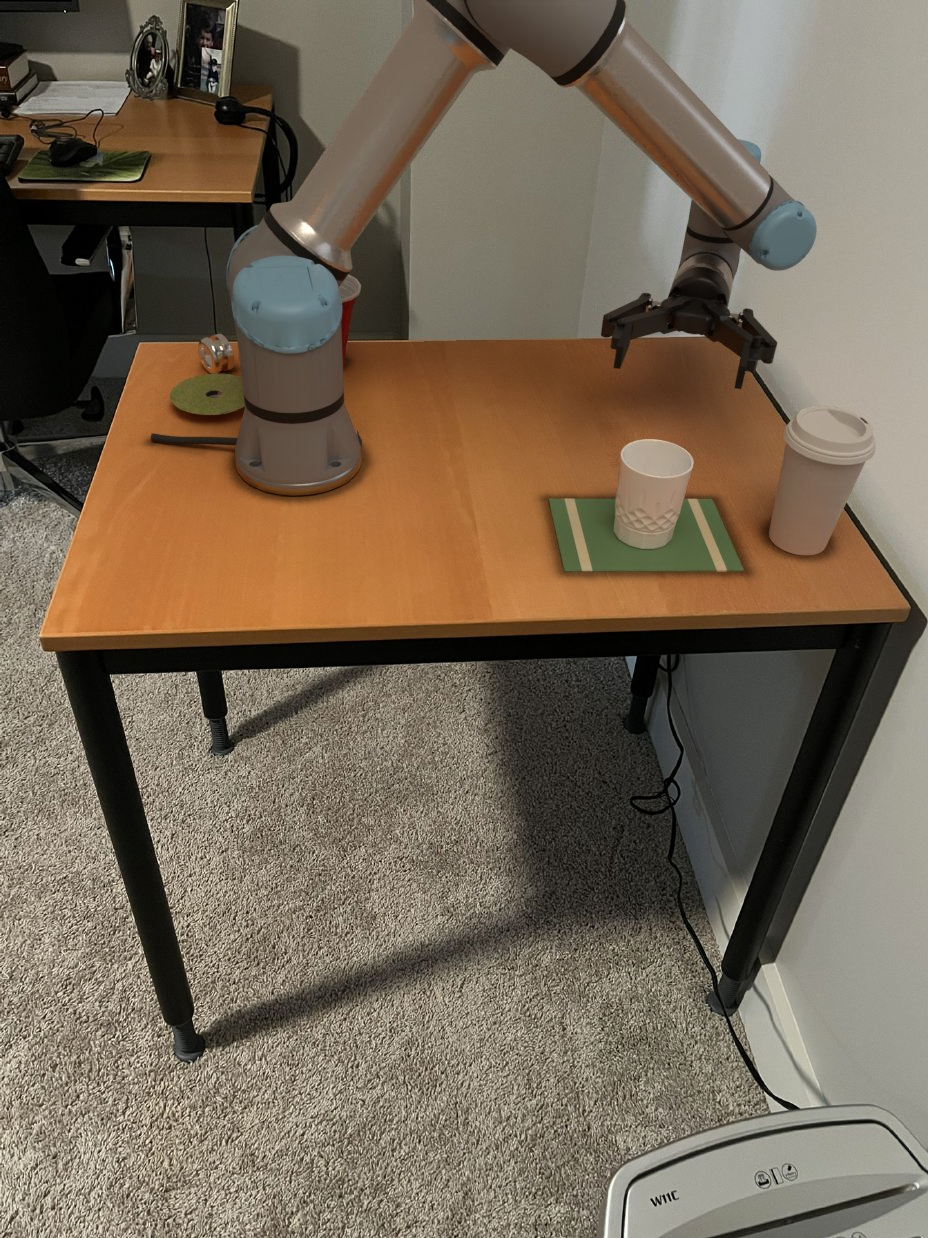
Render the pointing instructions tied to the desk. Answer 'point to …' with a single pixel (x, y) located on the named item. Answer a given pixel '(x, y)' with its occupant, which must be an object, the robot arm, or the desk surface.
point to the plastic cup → (347, 306)
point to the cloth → (599, 550)
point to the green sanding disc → (209, 394)
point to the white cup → (650, 492)
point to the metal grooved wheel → (216, 353)
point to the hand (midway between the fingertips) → (678, 367)
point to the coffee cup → (818, 476)
